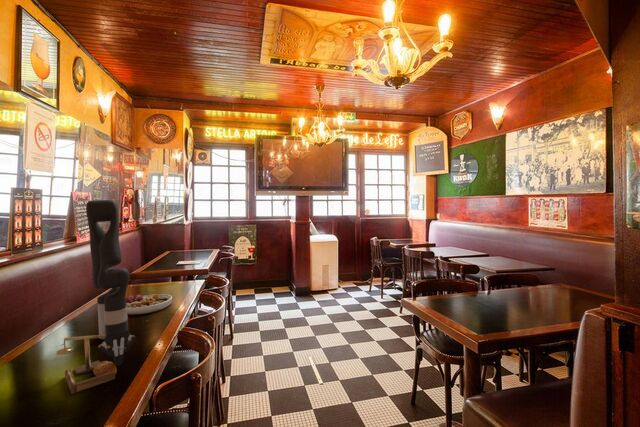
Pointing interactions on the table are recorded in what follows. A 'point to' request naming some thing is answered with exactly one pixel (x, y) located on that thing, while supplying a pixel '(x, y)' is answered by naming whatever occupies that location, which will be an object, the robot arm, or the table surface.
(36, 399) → the table surface
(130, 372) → the table surface
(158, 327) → the table surface
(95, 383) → the rail
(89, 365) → the balance
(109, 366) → the pastry
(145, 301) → the bowl
